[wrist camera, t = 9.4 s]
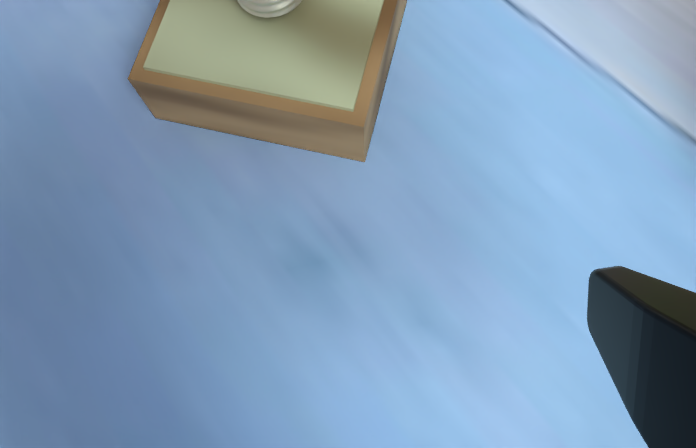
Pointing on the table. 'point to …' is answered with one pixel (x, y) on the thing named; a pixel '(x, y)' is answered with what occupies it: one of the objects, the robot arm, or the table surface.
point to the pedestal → (272, 70)
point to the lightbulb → (268, 7)
